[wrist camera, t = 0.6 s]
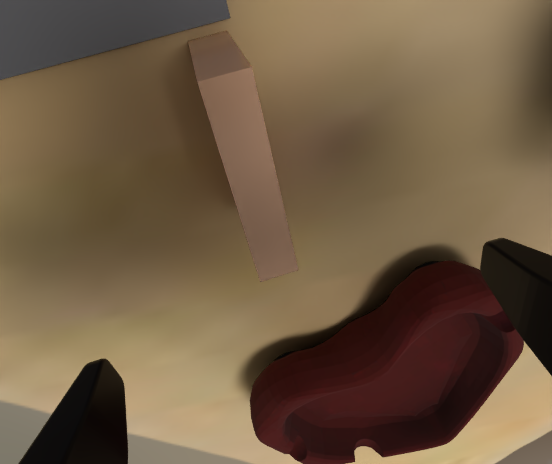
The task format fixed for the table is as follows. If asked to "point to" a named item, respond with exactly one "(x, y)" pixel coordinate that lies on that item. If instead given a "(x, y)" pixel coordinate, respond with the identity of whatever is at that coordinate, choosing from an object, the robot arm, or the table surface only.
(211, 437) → the table surface
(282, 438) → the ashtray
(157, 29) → the mat
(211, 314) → the table surface
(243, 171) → the tile
